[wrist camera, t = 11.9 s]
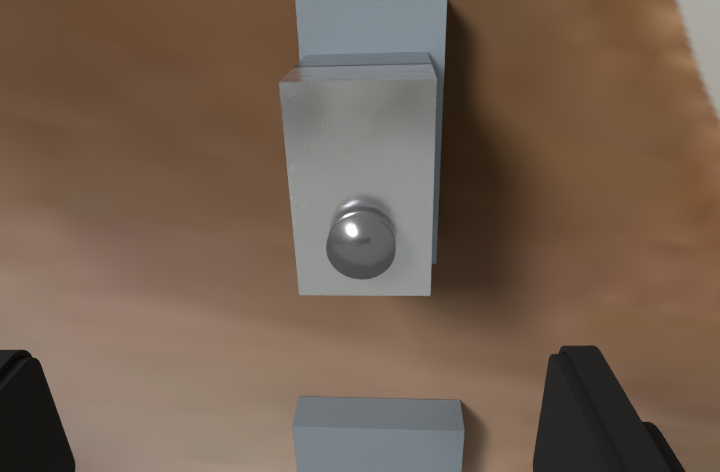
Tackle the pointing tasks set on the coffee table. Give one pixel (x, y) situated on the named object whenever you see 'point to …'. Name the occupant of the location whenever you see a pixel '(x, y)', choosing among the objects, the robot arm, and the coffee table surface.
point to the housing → (361, 171)
